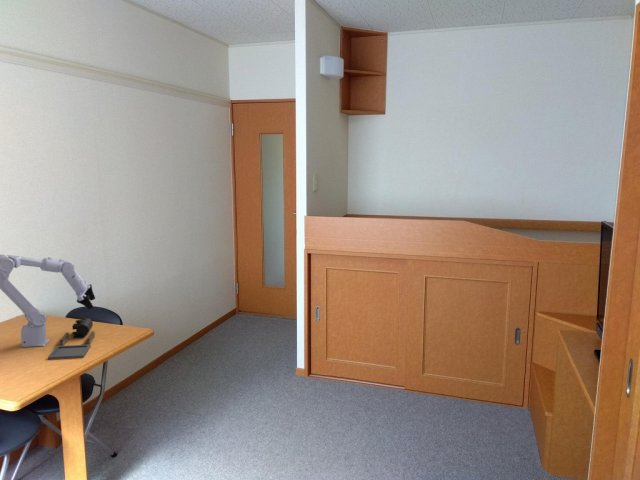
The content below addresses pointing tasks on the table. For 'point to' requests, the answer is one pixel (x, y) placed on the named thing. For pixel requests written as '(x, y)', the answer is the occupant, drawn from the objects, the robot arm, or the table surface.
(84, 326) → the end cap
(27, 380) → the table surface
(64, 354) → the tray
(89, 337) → the channel walls
